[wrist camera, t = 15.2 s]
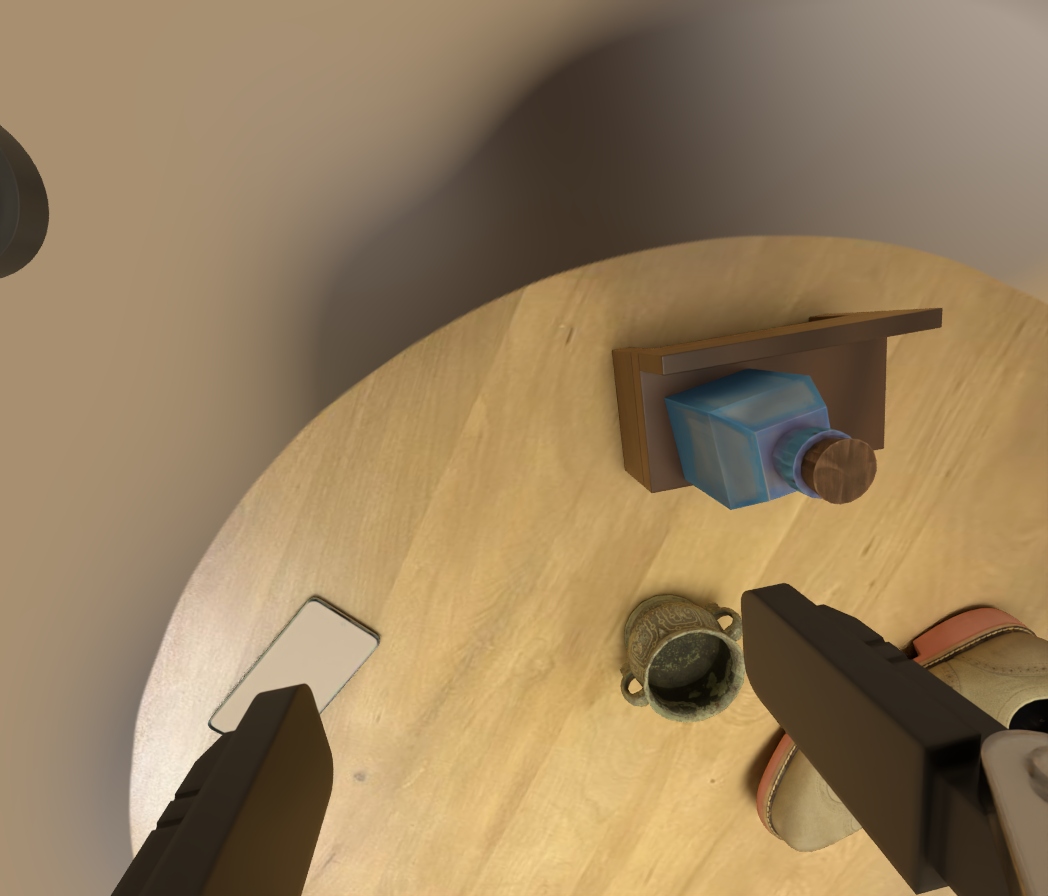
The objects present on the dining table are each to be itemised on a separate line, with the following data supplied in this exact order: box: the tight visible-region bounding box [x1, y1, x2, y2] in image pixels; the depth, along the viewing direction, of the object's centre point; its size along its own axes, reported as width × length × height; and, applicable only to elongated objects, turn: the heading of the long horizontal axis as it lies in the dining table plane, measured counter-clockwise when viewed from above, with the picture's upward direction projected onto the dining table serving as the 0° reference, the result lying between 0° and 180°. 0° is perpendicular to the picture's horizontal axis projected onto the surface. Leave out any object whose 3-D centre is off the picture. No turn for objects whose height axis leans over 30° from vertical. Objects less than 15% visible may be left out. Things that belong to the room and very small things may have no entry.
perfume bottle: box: [664, 368, 877, 510], centre depth 28 cm, size 6×6×12 cm
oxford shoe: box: [756, 608, 1048, 852], centre depth 44 cm, size 11×32×12 cm, turn 130°
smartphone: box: [208, 597, 380, 735], centre depth 41 cm, size 7×1×15 cm
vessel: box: [620, 595, 745, 723], centre depth 41 cm, size 12×9×6 cm
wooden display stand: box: [612, 308, 942, 493], centre depth 35 cm, size 18×10×10 cm, turn 99°
